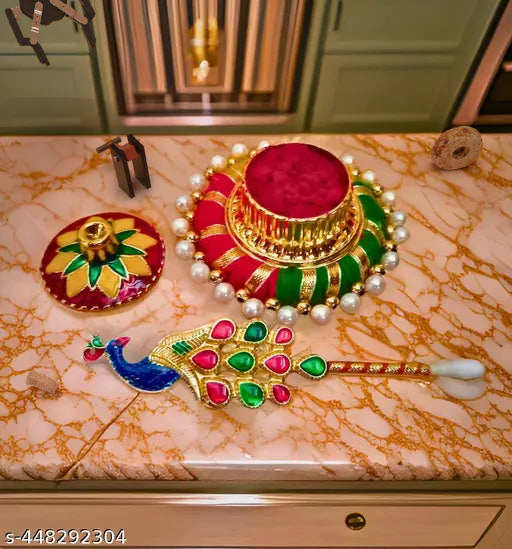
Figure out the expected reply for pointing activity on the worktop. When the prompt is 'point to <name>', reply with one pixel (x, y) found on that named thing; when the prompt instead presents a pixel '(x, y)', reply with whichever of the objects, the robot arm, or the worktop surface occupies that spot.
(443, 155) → the stone disc
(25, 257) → the worktop surface
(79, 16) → the robot arm
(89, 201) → the worktop surface
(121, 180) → the latch bracket
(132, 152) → the latch lever
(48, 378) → the beige block
